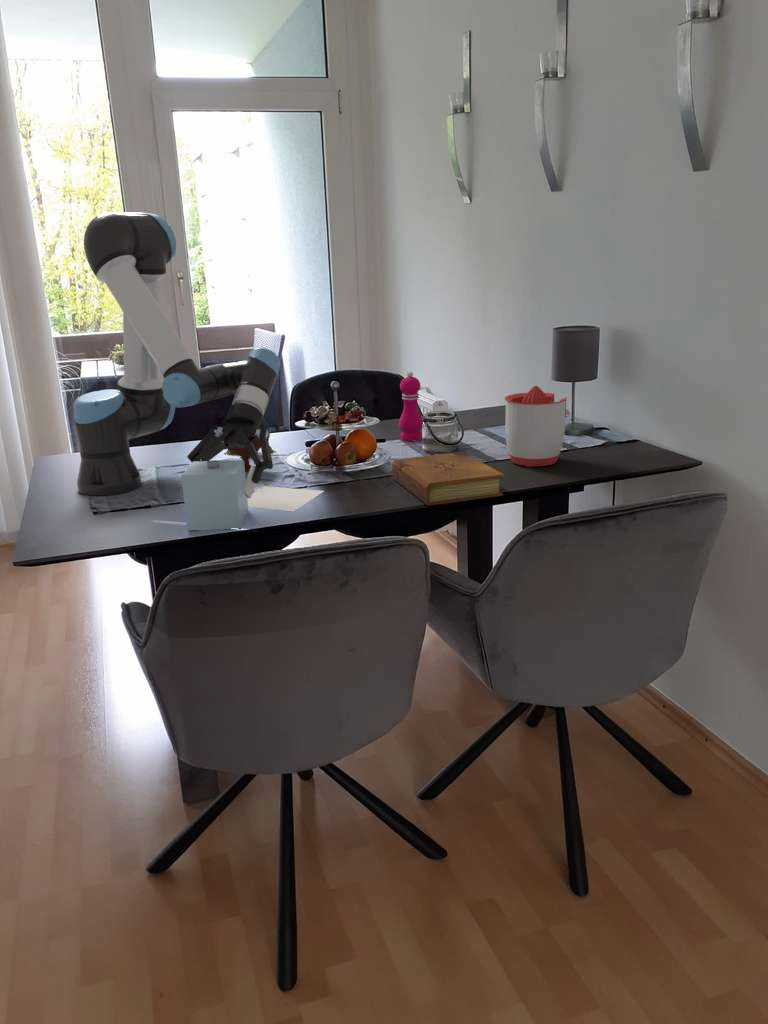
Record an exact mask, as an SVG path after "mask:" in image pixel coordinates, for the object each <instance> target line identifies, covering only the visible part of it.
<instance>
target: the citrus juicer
mask: <svg viewBox="0 0 768 1024" xmlns="http://www.w3.org/2000/svg"><path fill="white" fill-rule="evenodd" d="M567 400H568V398H567V396H565V397H563V398H561V399H560V400H559V401H555V393H553V392H551V393H550V392H544V391H543V390H542V389H541V388H540V387H539V386H538V385H534V386H533V387H532V388H530V389H529V390H528V391H527V392H519V393H513V394H509V395H506V396H505V397H504V401H505V425H504V426H505V430H504V431H505V442H506V447H507V451H508V455H509V458H510V460H511V463H512V464H513V463H514V464H516V465H520V466H525V467H526V468H533V467H542V466H544V467H545V466H550V465H554V464H555V463H557V461H558V459H559V458H560V457H559V456H560V455H561V451H562V447H563V444H564V440H565V430H566V429H565V427H566V418H567V416H570V415H571V411H570V410H569V409H567Z"/></svg>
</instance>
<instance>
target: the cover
mask: <svg viewBox="0 0 768 1024" xmlns="http://www.w3.org/2000/svg"><path fill="white" fill-rule="evenodd" d="M246 479H247V478H246V472H245V466H244V460H242V459H234V460H233V459H231V460H230V459H229V460H226V459H225V460H215V459H213V460H212V459H211V460H210V461H196V462H191V463H190V465H189V466H188V467H187V468H186V469H185V470H184V472H182V474H181V484H182V485H181V486H182V495H183V502H184V511H185V519H186V526H187V527H186V528H187V529H186V530H187V531H188V530H189V531H188V532H190V530H200V531H218V530H217V529H231V528H242V527H241V526H242V524H243V523H244V521H245V518H246V516H247V514H248V512H249V508H248V500H247V497H246V496H245V495H244V494H243V492H242V491H243V488H244V485H245V482H246ZM231 530H232V529H231Z"/></svg>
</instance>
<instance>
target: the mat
mask: <svg viewBox="0 0 768 1024" xmlns="http://www.w3.org/2000/svg"><path fill="white" fill-rule="evenodd" d="M324 492H325V490H316V489H303V488H290V487H281V486H280V487H279V486H266V485H264V486H262V487H260V488H259V489H257V490H255V491H253V493H252V496H251V498H247V500H248V509H250V508H251V509H259V510H272V511H283V512H295V511H297V510H298V509H300V508H302V507H303V506H305V505H306V504H307V503H309V502H310V501H312V500H313V499H315V498H317V496H319V495H321V494H322V493H324Z"/></svg>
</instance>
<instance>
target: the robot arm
mask: <svg viewBox="0 0 768 1024" xmlns="http://www.w3.org/2000/svg"><path fill="white" fill-rule="evenodd" d="M83 248H84V249H83V250H84V253H85V258H86V261H87V262H88V266H89V268H90V269H91V271H92V273H93V275H94V276H95V277H96V279H97V280H98V281H99V282H101V283H103V284H105V285H106V286H107V288H108V290H109V291H110V293H111V295H112V297H113V298H114V299H115V301H116V302H117V304H118V306H119V307H120V309H121V310H122V320H123V321H122V322H123V323H122V325H123V326H122V328H123V330H122V331H123V332H122V333H123V335H122V336H123V376H122V377H121V378H120V379H119V380H118V381H117V389H111V388H109V389H100V390H98V391H97V390H95V391H91V392H88V393H87V392H86V393H84V394H81V395H80V396H78V397H77V398H76V399H75V400H74V402H73V419H74V424H75V428H76V429H75V430H76V437H77V440H78V441H77V442H78V447H79V448H78V449H79V453H80V464H79V469H78V473H77V475H78V476H77V481H76V485H77V491H78V492H79V493H80V494H82V495H87V496H109V495H110V496H111V495H115V494H116V495H117V494H122V493H127V492H130V491H132V490H135V489H137V488H139V487H141V486H142V484H143V483H142V475H141V472H140V471H139V469H138V467H137V465H136V463H135V461H134V459H133V457H132V454H131V448H130V442H129V441H130V440H132V439H136V438H139V437H143V436H146V435H153V434H156V433H157V432H159V431H162V430H163V429H166V428H167V427H168V426H169V425H170V424H171V422H172V421H173V419H174V415H175V412H176V408H186V407H192V406H193V407H194V406H195V405H198V404H202V403H205V402H207V401H208V402H209V401H213V400H216V399H217V400H218V399H221V398H225V397H228V396H233V395H234V397H233V399H232V403H231V404H232V405H231V406H230V408H229V411H228V414H227V416H226V423H225V425H224V426H223V427H220V426H217V424H215V423H214V424H212V425H211V427H210V428H209V431H208V432H207V433H206V434H205V436H204V437H203V438H202V439H201V440H200V441H199V442H198V443H197V445H196V446H195V447H194V448H193V449H192V450H191V451H190V453H189V454H187V459H188V460H189V461H190V462H191V463H192V462H196V461H212V459H213V458H215V457H216V456H218V455H219V454H220V453H221V452H223V451H224V450H226V451H227V450H228V448H229V447H231V448H235V447H239V448H244V447H247V449H248V451H249V453H250V455H251V457H252V458H251V459H252V461H253V464H254V465H252V464H250V465H251V468H250V470H249V472H247V473H248V474H247V478H246V482H245V485H244V488H243V491H242V492H243V494H244V495H245V496H246V497H247V498H251V496H252V493H253V492H254V489H255V486H256V484H259V483H260V481H261V478H262V476H263V475H262V474H263V472H264V471H265V470H272V469H273V468H274V464H273V458H272V453H271V452H270V447H271V446H270V443H269V442H270V441H269V440H270V435H271V434H270V432H269V431H268V429H267V428H266V427H265V426H262V427H261V424H262V421H263V419H264V415H265V412H266V409H267V407H268V405H269V404H268V403H269V401H270V397H271V394H272V391H273V389H274V386H275V383H276V381H277V378H278V377H279V371H280V366H281V359H280V357H279V356H278V355H277V354H276V353H275V352H274V351H272V350H271V349H268V348H265V347H255V348H254V349H252V350H251V351H250V352H249V355H248V356H247V359H245V360H240V361H234V362H224V363H215V364H210V365H207V366H205V367H200V368H198V366H197V364H196V362H195V361H194V360H193V358H192V356H191V355H190V353H189V352H188V349H186V347H185V345H184V344H183V342H182V341H181V339H180V337H179V336H178V334H177V332H176V330H175V329H174V328H173V326H172V324H171V323H170V321H169V319H168V318H167V316H166V314H165V313H164V311H163V309H162V308H161V306H160V297H161V295H160V282H161V280H162V278H164V277H165V276H166V275H167V264H168V263H170V262H171V261H172V259H173V258H174V257H175V256H176V253H177V252H176V251H177V239H176V236H175V233H174V231H173V229H172V227H171V226H170V225H169V222H168V221H167V220H166V219H165V218H163V217H162V216H160V215H159V214H158V215H157V214H155V213H149V212H147V213H146V212H145V211H144V212H142V211H141V212H115V211H107V212H102V213H100V214H98V215H97V216H95V217H94V218H93V219H92V220H91V221H90V222H89V223H88V225H87V227H86V228H85V232H84V235H83ZM160 373H161V375H162V376H163V379H162V378H161V377H160ZM257 436H258V437H259V440H260V445H261V448H260V450H261V455H262V457H261V458H262V460H261V458H260V456H259V454H258V451H257V452H256V450H255V447H254V445H253V443H252V441H253V440H254V439H255V438H256V437H257ZM223 440H225V441H226V443H223ZM269 446H270V447H269Z"/></svg>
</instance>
